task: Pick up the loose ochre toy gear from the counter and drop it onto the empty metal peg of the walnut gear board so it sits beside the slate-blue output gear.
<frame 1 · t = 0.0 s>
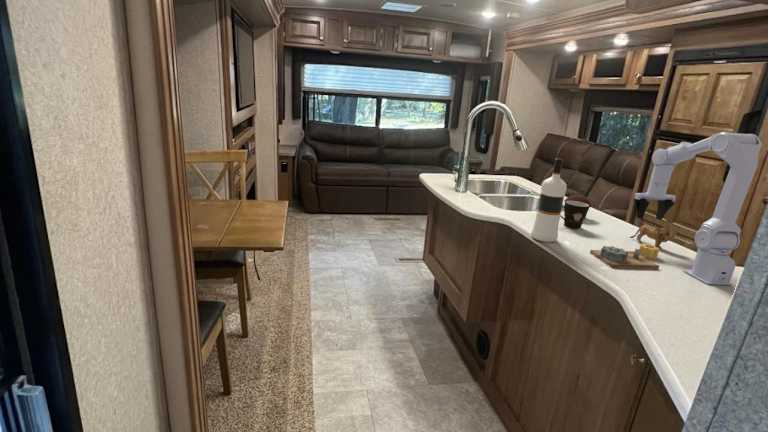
hand: (649, 218, 149), 10 cm above the worktop, tool pointing down, fingers open, 7 cm apart
coffee mug: (568, 226, 168), on the worktop
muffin: (574, 217, 183), on the worktop
lion figurine: (650, 246, 152), on the worktop
gear board: (622, 260, 134), on the worktop
ochre gear: (647, 256, 140), on the worktop
vodka: (543, 239, 150), on the worktop
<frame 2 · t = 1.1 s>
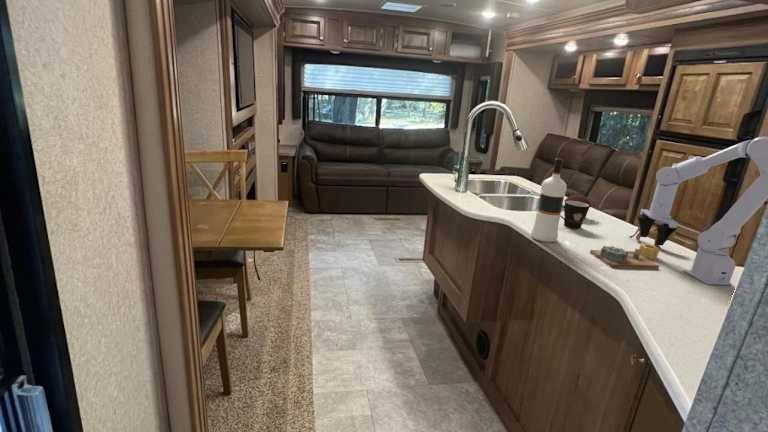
hand: (651, 240, 138), 6 cm above the worktop, tool pointing down, fingers open, 7 cm apart
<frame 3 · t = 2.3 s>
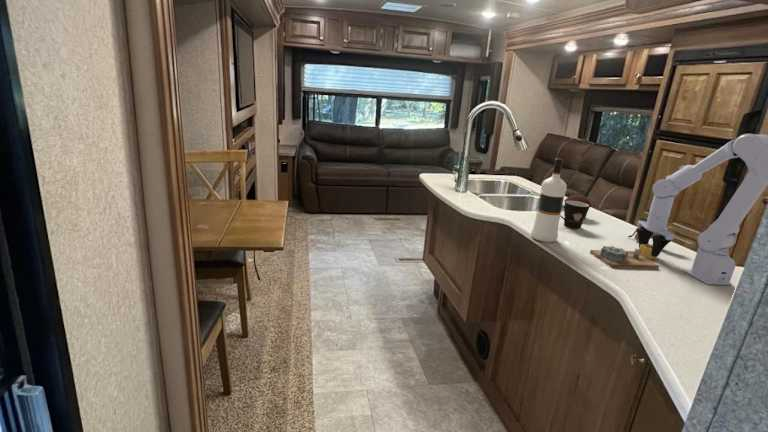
hand: (648, 252, 140), 1 cm above the worktop, tool pointing down, fingers closed on ochre gear, 5 cm apart
ochre gear: (647, 256, 140), on the worktop, touching gripper
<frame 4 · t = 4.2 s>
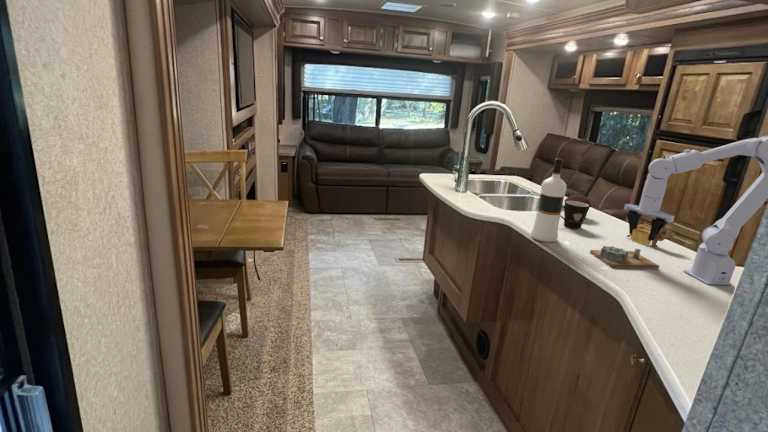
hand: (641, 236, 132), 9 cm above the worktop, tool pointing down, fingers closed on ochre gear, 6 cm apart
ochre gear: (640, 241, 132), point 7 cm above the worktop, touching gripper
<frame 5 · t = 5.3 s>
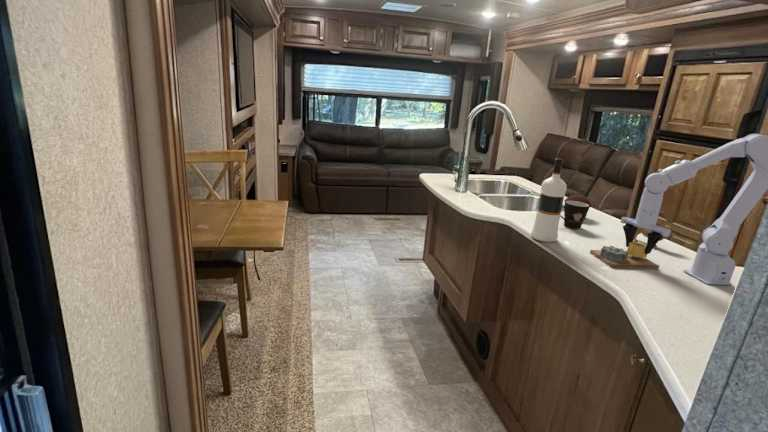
hand: (637, 249, 133), 4 cm above the worktop, tool pointing down, fingers closed on ochre gear, 6 cm apart
ochre gear: (636, 254, 134), point 2 cm above the worktop, touching gripper
when the fingers open (4 cm above the worktop, at t = 6.1 s): ochre gear drops 1 cm, resting on gear board.
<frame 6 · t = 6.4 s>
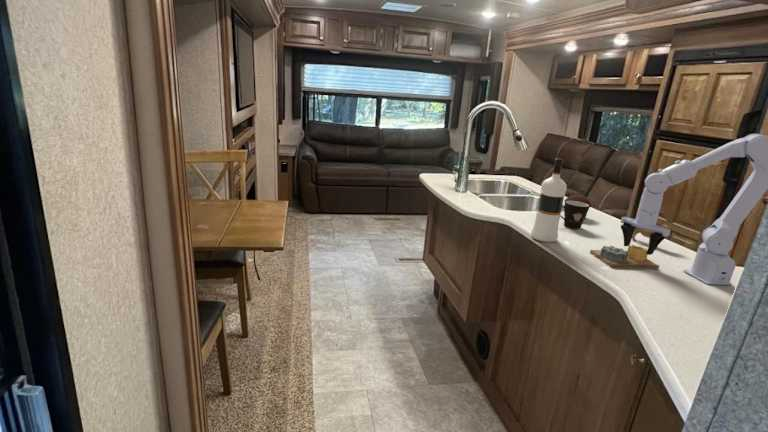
hand: (637, 249, 133), 4 cm above the worktop, tool pointing down, fingers open, 7 cm apart
ochre gear: (636, 258, 134), point 1 cm above the worktop, touching gear board
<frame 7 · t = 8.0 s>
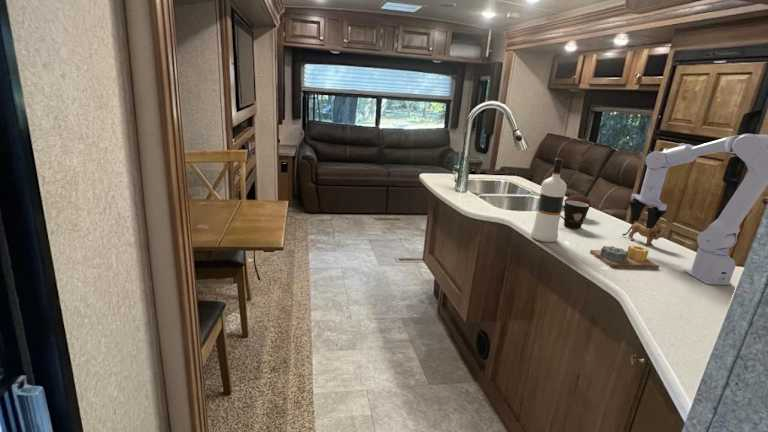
hand: (641, 224, 142), 10 cm above the worktop, tool pointing down, fingers open, 7 cm apart
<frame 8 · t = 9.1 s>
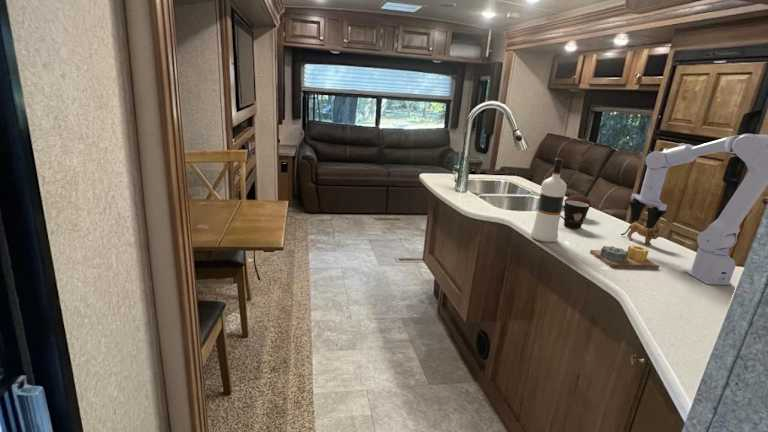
hand: (641, 224, 142), 10 cm above the worktop, tool pointing down, fingers open, 7 cm apart
at the end: ochre gear 0.1 cm from the target spot on the gear board, point 1.2 cm above the gear board's base; the gripper is holding nothing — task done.
